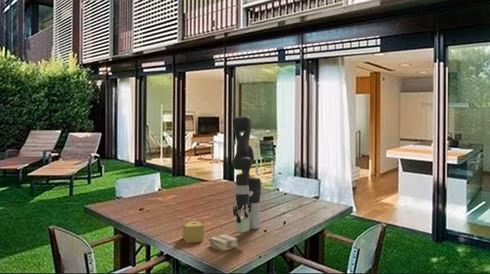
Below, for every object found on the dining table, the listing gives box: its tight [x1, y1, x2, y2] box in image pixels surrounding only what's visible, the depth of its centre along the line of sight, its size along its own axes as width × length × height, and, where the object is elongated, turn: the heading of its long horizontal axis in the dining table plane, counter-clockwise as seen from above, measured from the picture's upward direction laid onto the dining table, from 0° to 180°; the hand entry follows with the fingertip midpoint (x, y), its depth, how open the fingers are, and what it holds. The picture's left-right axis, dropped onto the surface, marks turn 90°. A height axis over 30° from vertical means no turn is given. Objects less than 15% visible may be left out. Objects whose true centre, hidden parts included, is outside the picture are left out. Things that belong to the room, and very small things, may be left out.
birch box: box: [209, 233, 238, 252], centre depth 219 cm, size 11×11×5 cm
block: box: [235, 215, 250, 233], centre depth 220 cm, size 6×6×7 cm
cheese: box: [182, 220, 205, 244], centre depth 229 cm, size 10×11×10 cm
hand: (242, 221), depth 220 cm, fingers closed on block, 5 cm apart
